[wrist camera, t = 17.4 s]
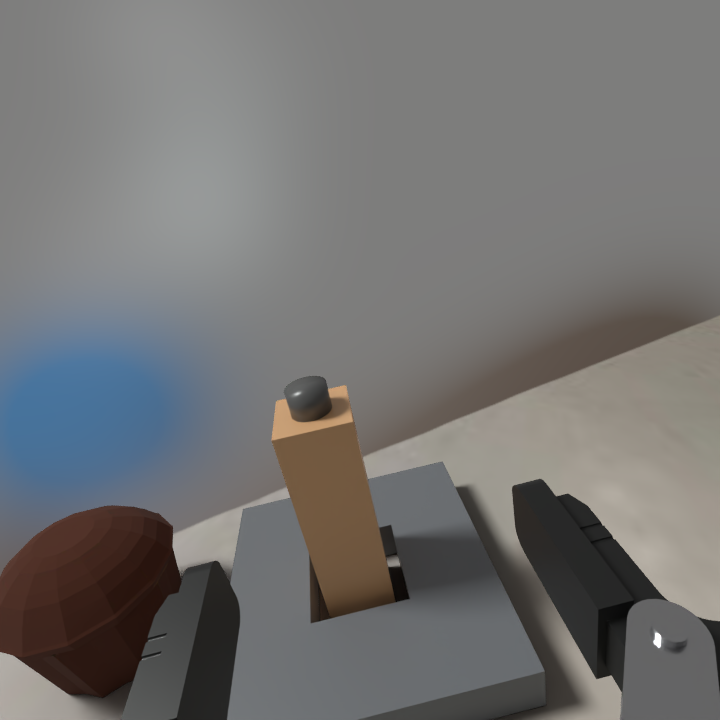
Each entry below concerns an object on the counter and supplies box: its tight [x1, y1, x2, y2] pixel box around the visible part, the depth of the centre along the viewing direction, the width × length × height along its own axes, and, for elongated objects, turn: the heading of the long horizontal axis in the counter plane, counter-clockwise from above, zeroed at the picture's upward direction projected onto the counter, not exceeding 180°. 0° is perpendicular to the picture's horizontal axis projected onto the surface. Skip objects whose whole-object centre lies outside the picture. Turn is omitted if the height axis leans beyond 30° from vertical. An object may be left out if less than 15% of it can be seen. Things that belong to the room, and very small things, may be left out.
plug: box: [272, 376, 396, 618], centre depth 28 cm, size 4×4×18 cm
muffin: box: [0, 506, 181, 698], centre depth 31 cm, size 12×11×10 cm
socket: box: [227, 462, 546, 720], centre depth 31 cm, size 18×18×3 cm
